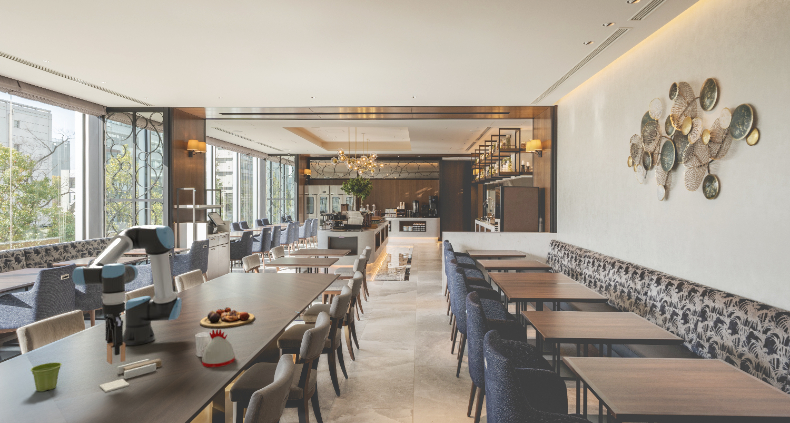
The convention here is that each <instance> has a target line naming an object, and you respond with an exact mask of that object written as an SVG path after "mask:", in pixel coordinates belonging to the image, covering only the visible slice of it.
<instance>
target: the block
mask: <svg viewBox="0 0 790 423" xmlns="http://www.w3.org/2000/svg"><path fill="white" fill-rule="evenodd" d="M111 346H113V343H109V344H108V343H107V344H106V362H107V363H108V364H110V365H113V364H112V348H111ZM122 362H126V345H125V343H124V342H123V345H121V362H120V363H122Z"/></svg>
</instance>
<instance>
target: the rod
mask: <svg viewBox="0 0 790 423" xmlns="http://www.w3.org/2000/svg"><path fill="white" fill-rule="evenodd" d="M154 363H156V368H160V367H162V359H161V358H157V359H152V360H149V361H147V362H143V363H139V364H135V365H131V366H127V367H124V371H127V370H131V369H135V368H139V367H143V366H146V365H150V364H154Z"/></svg>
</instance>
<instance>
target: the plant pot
mask: <svg viewBox="0 0 790 423" xmlns="http://www.w3.org/2000/svg"><path fill="white" fill-rule="evenodd" d="M62 364H63V363H61V362H58V361H57V362H47V363H43V364H38V365H35V366H32V367H31V368H30V372H31V373H32V375H33V379H34V385H35V389H36V390H35V391H36V392H46V391H48V390H54V389H55V388H56V387H57V385H58V384H57V383H58V379H59V373H60V370H61V367H62Z"/></svg>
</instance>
